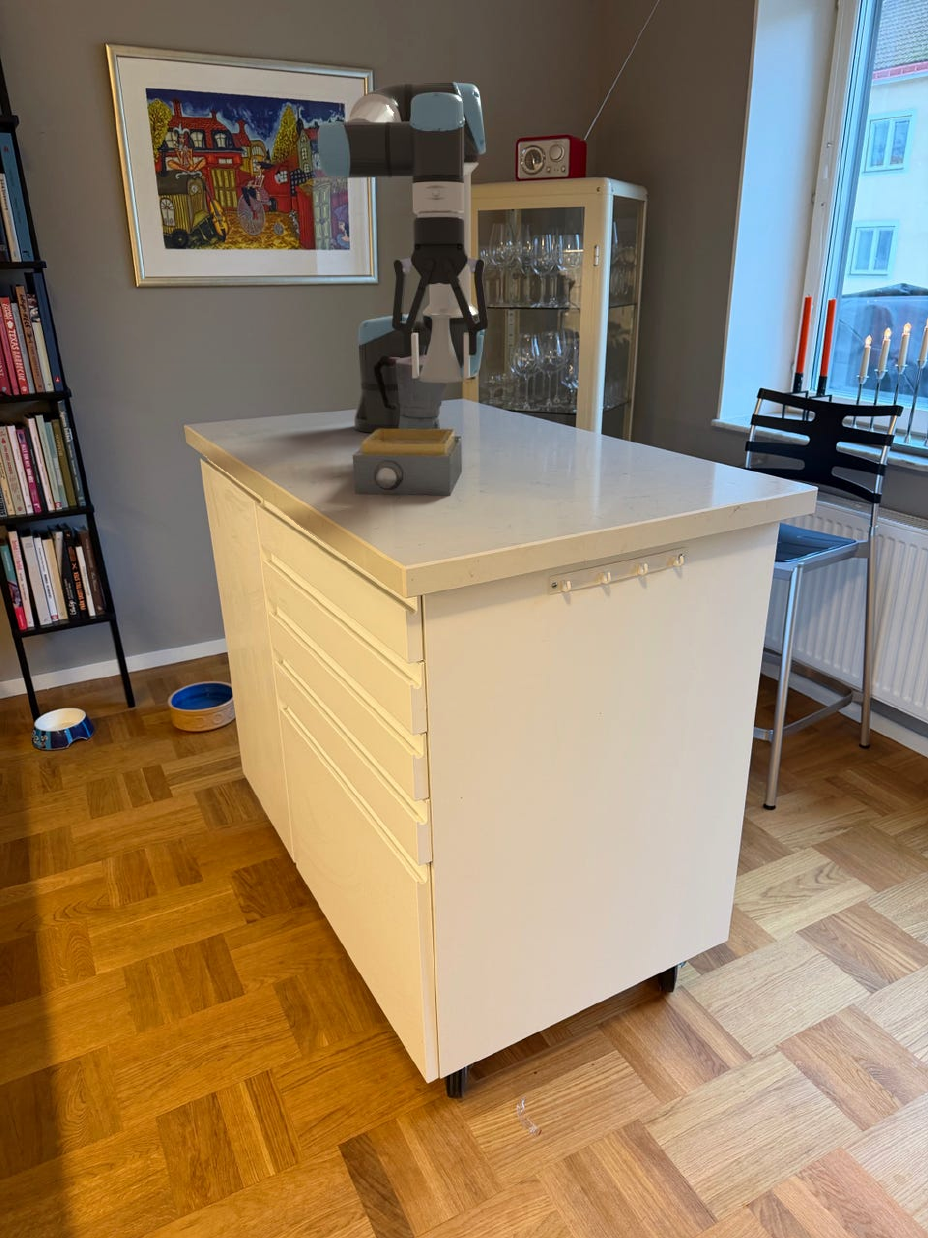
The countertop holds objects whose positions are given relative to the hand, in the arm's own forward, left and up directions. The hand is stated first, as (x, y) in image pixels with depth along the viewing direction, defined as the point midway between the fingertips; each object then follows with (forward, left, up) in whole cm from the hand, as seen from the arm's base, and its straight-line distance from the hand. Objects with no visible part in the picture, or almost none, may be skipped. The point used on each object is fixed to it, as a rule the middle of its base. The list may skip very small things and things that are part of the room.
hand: (441, 376), depth 135 cm
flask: (0, 0, -1) cm, 1 cm away
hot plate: (+2, -5, -17) cm, 18 cm away
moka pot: (-18, -7, -17) cm, 26 cm away
